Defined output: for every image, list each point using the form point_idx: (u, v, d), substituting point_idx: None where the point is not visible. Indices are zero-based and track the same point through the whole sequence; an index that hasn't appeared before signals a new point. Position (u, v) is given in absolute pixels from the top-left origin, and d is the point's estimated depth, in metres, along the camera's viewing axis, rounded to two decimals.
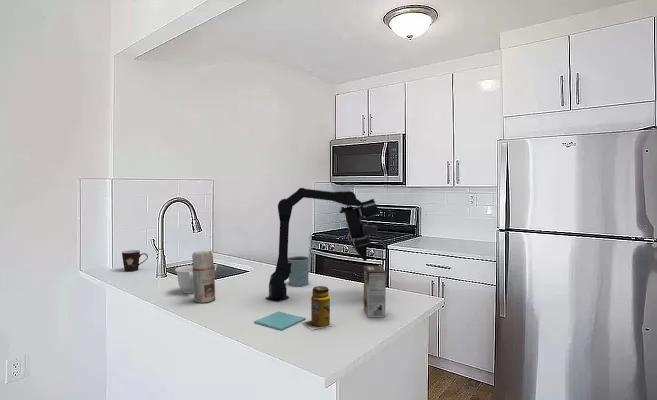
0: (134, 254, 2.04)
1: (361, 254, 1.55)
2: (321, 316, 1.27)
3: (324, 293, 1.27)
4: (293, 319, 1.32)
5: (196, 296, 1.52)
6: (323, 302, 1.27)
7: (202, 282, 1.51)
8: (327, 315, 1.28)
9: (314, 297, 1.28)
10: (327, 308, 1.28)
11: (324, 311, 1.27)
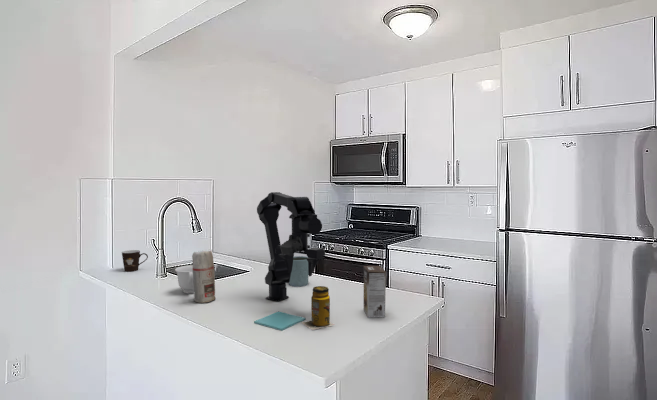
0: (134, 254, 2.04)
1: None
2: (321, 316, 1.27)
3: (324, 293, 1.27)
4: (293, 319, 1.32)
5: (196, 296, 1.52)
6: (323, 302, 1.27)
7: (202, 282, 1.51)
8: (327, 315, 1.28)
9: (314, 297, 1.28)
10: (327, 308, 1.28)
11: (324, 311, 1.27)
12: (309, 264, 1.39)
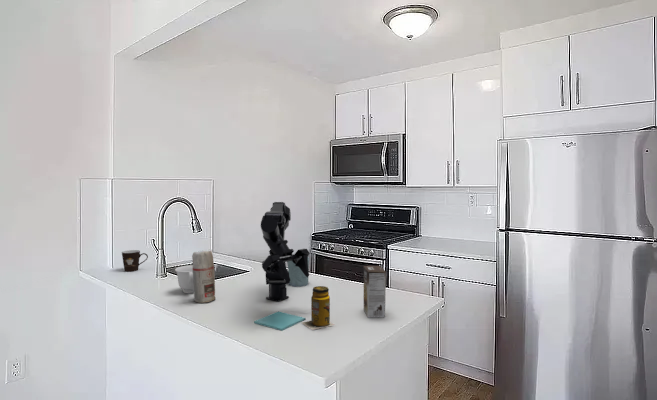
0: (134, 254, 2.04)
1: None
2: (321, 316, 1.27)
3: (324, 293, 1.27)
4: (293, 319, 1.32)
5: (196, 296, 1.52)
6: (323, 302, 1.27)
7: (202, 282, 1.51)
8: (327, 315, 1.28)
9: (314, 297, 1.28)
10: (327, 308, 1.28)
11: (324, 311, 1.27)
12: None
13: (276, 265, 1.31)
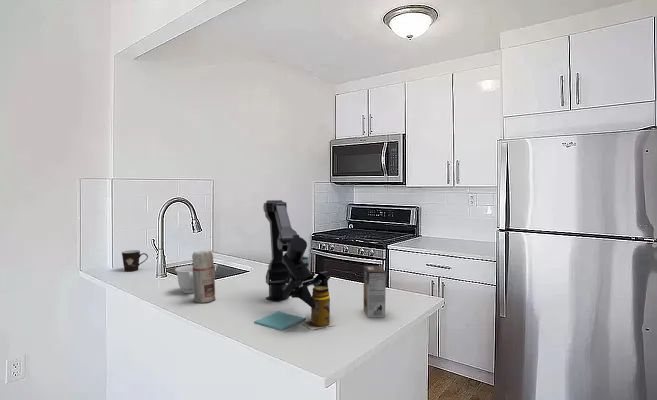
0: (134, 254, 2.04)
1: None
2: (321, 316, 1.27)
3: (324, 293, 1.27)
4: (293, 319, 1.32)
5: (196, 296, 1.52)
6: (323, 302, 1.27)
7: (202, 282, 1.51)
8: (327, 315, 1.28)
9: (314, 297, 1.27)
10: (327, 308, 1.28)
11: (324, 311, 1.27)
12: None
13: (300, 290, 1.26)
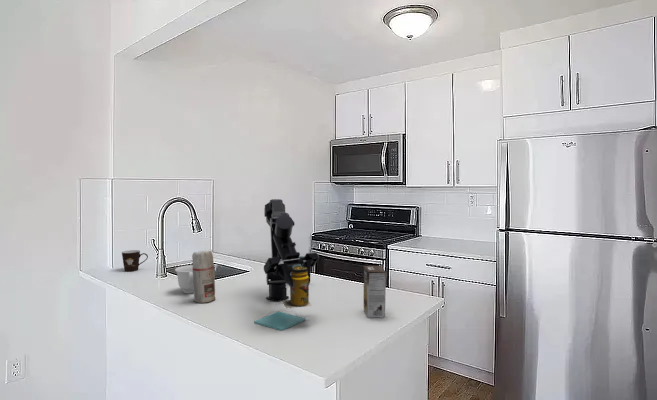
0: (134, 254, 2.04)
1: None
2: (297, 296, 1.27)
3: (300, 273, 1.27)
4: (293, 319, 1.32)
5: (196, 296, 1.52)
6: (299, 282, 1.26)
7: (202, 282, 1.51)
8: (303, 295, 1.27)
9: (291, 276, 1.28)
10: (303, 288, 1.27)
11: (300, 291, 1.27)
12: None
13: (280, 268, 1.29)
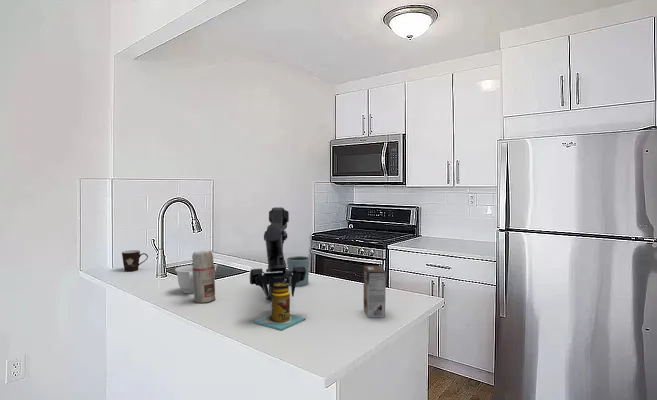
0: (134, 254, 2.04)
1: None
2: (275, 311, 1.29)
3: (278, 289, 1.29)
4: (293, 319, 1.32)
5: (196, 296, 1.52)
6: (277, 298, 1.29)
7: (202, 282, 1.51)
8: (282, 312, 1.29)
9: (272, 292, 1.31)
10: (282, 305, 1.29)
11: (278, 307, 1.29)
12: None
13: (259, 279, 1.32)
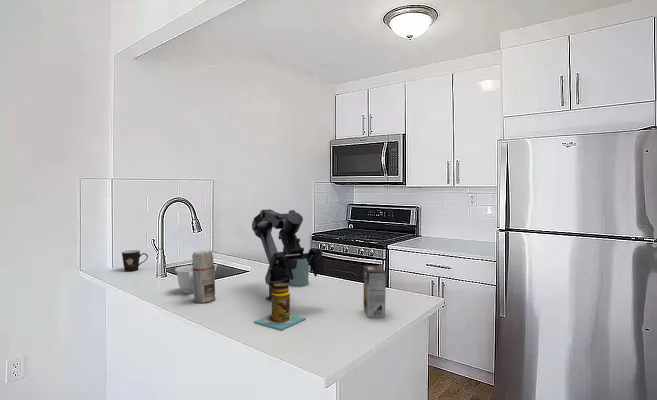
0: (134, 254, 2.04)
1: None
2: (275, 311, 1.29)
3: (278, 289, 1.29)
4: (293, 319, 1.32)
5: (196, 296, 1.52)
6: (277, 298, 1.29)
7: (202, 282, 1.51)
8: (282, 312, 1.29)
9: (272, 292, 1.31)
10: (282, 305, 1.29)
11: (278, 307, 1.29)
12: None
13: (281, 262, 1.36)
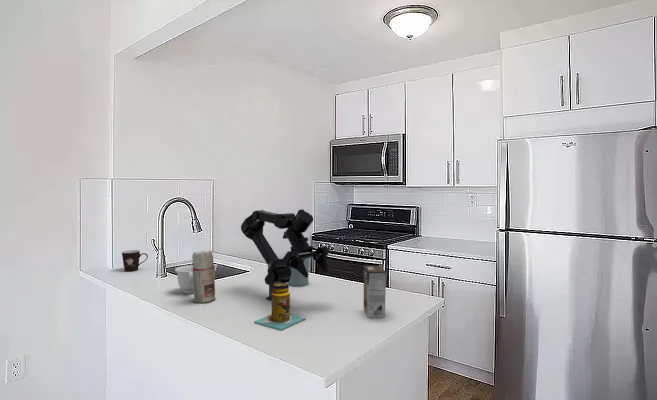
0: (134, 254, 2.04)
1: None
2: (275, 311, 1.29)
3: (278, 289, 1.29)
4: (293, 319, 1.32)
5: (196, 296, 1.52)
6: (277, 298, 1.29)
7: (202, 282, 1.51)
8: (282, 312, 1.29)
9: (272, 292, 1.31)
10: (282, 305, 1.29)
11: (278, 307, 1.29)
12: None
13: (295, 261, 1.38)
